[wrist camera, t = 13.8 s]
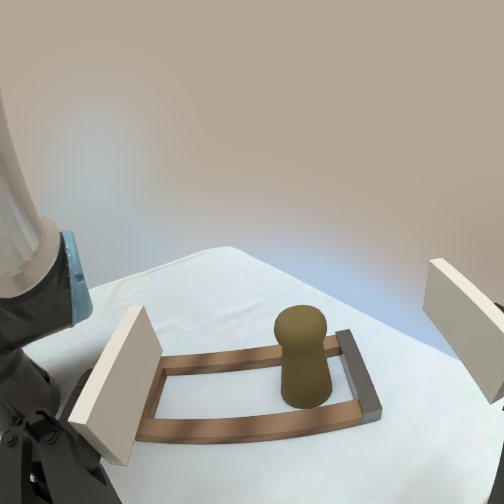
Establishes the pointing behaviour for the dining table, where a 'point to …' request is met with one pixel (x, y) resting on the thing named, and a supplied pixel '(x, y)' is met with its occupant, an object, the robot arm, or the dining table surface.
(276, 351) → the walnut channel
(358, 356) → the end stop
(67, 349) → the dining table surface
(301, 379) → the cork
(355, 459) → the dining table surface
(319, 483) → the dining table surface
